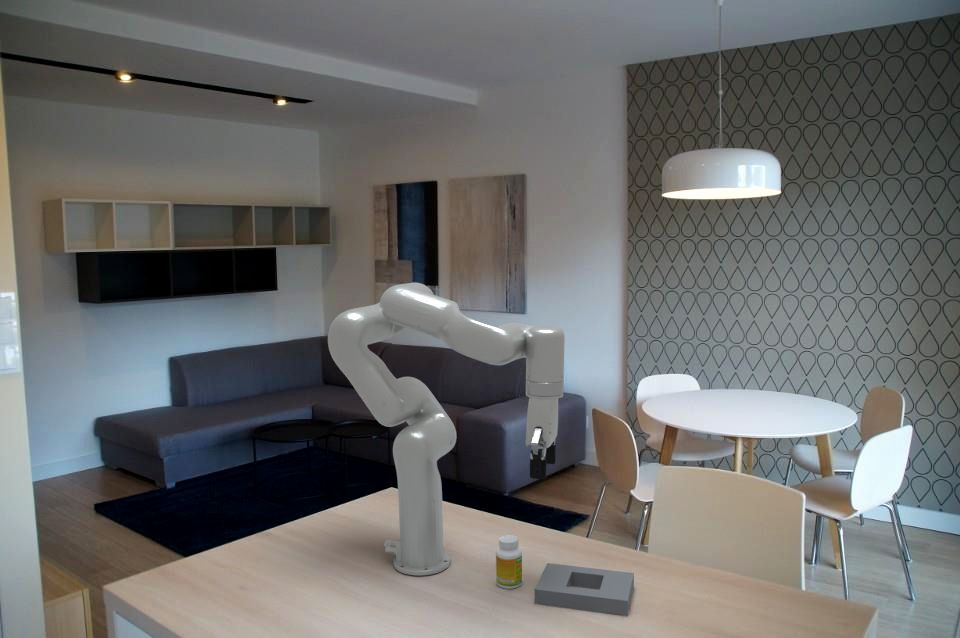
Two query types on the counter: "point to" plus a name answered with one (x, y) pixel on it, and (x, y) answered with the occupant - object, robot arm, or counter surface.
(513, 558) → the supplement bottle
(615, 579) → the socket block
